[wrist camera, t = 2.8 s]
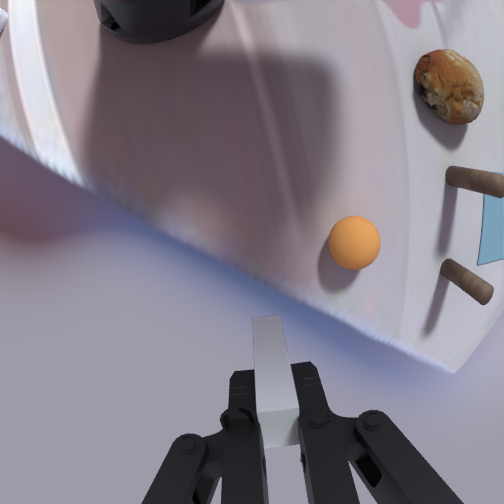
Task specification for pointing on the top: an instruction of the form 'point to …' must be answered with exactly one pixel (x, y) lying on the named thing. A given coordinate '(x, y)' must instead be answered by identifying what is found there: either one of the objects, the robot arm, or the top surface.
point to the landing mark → (492, 230)
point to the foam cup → (3, 19)
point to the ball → (354, 242)
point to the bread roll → (450, 86)
